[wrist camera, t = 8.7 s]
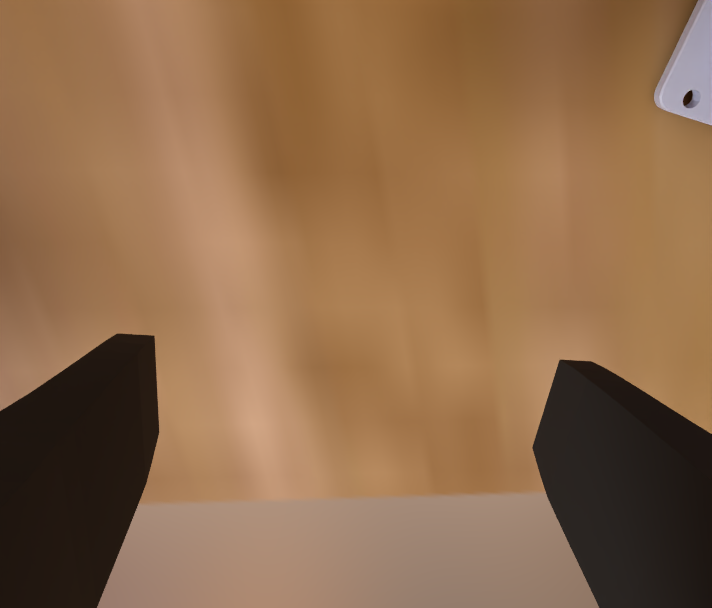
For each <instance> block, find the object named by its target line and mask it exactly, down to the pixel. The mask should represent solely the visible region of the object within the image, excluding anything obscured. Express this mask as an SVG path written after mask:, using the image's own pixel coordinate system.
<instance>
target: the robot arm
mask: <svg viewBox="0 0 712 608" xmlns="http://www.w3.org/2000/svg"><path fill="white" fill-rule="evenodd" d="M690 90H692V93H693V97H692V100H691V101H690V103H689V104H687V105H685V106H684V105H683V98H684V96H685V94H686V93H687V92H689V91H690ZM654 101H655V103H656V105H657V107H659V108H661V109H662V110H665V111H668V112H672V113H675V114H678V115H681V116H684V117H687V118H690V119H693V120H696V121H699V122H703V123H706V124H709V125H712V0H698V2H697V4H696V6H695V8H694V10H693V12H692V14H691V16H690V18H689V21H688V23H687V25H686V27H685V29H684V31H683V33H682V35H681V37H680V39H679V41H678V43H677V46H676V48H675V50H674V52H673V54H672V56H671V58H670V60H669V62H668V64H667V66H666V68H665V70H664V73H663V75H662V77H661V79H660V81H659V83H658V85H657V87H656V90H655V93H654ZM158 435H159V419H158V399H157V379H156V359H155V339H154V336H149V335H132V334H116V335H114V336H113V337H111V338H109V339H108V340H106V341H105V342H103V343H102V344H100V345H99V346H98V347H96V348H95V349H93V350H92V351H90V352H89V353H88V354H86V355H85V356H83V357H82V358H80V359H79V360H78V361H76V362H75V363H73V364H72V365H70V366H69V367H68V368H66V369H65V370H63V371H62V372H60V373H59V374H57V375H56V376H54V377H53V378H51V379H50V380H48V381H47V382H46V383H44V384H43V385H41V386H40V387H38V388H37V389H35V390H34V391H32V392H31V393H29V394H28V395H26V396H24V397H23V398H21V399H19V400H18V401H16V402H15V403H13V404H11V405H10V406H8V407H6V408H5V409H3V410H2V411H0V608H97V606H98V603H99V601H100V598H101V596H102V593H103V591H104V588H105V586H106V584H107V581H108V579H109V576H110V573H111V571H112V569H113V566H114V564H115V561H116V559H117V556H118V554H119V551H120V549H121V546H122V543H123V541H124V539H125V536H126V534H127V531H128V529H129V526H130V524H131V521H132V519H133V516H134V513H135V511H136V508H137V506H138V503H139V501H140V498H141V496H142V493H143V490H144V488H145V485H146V482H147V478H148V475H149V471H150V467H151V463H152V459H153V455H154V451H155V447H156V443H157V439H158ZM532 448H533V451H534V455H535V458H536V462H537V465H538V469H539V472H540V475H541V478H542V481H543V485H544V488H545V491H546V494H547V497H548V499H549V501H550V503H551V506H552V508H553V510H554V512H555V514H556V517H557V519H558V521H559V523H560V525H561V527H562V529H563V532H564V534H565V536H566V538H567V540H568V542H569V544H570V547H571V549H572V551H573V553H574V555H575V557H576V559H577V561H578V563H579V566H580V568H581V570H582V572H583V574H584V576H585V578H586V580H587V582H588V584H589V587H590V588H591V591H592V593H593V595H594V597H595V599H596V601H597V603H598V606H599V608H712V434H710V433H709V432H707V431H706V430H704V429H702V428H701V427H699V426H697V425H696V424H694V423H693V422H691V421H689V420H688V419H686V418H685V417H683V416H681V415H680V414H678V413H677V412H675V411H674V410H672V409H670V408H669V407H667V406H666V405H664V404H662V403H661V402H659V401H658V400H656V399H655V398H653V397H651V396H650V395H648V394H647V393H645V392H644V391H642V390H640V389H639V388H637V387H636V386H634V385H632V384H631V383H629V382H628V381H626V380H624V379H623V378H621V377H619V376H618V375H616V374H614V373H613V372H611V371H609V370H607V369H605V368H604V367H602V366H600V365H598V364H596V363H594V362H591V361H574V360H560V361H559V364H558V367H557V370H556V373H555V377H554V380H553V383H552V386H551V389H550V393H549V396H548V399H547V402H546V406H545V409H544V412H543V415H542V418H541V422H540V425H539V428H538V431H537V435H536V438H535V441H534V444H533V447H532Z"/></svg>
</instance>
